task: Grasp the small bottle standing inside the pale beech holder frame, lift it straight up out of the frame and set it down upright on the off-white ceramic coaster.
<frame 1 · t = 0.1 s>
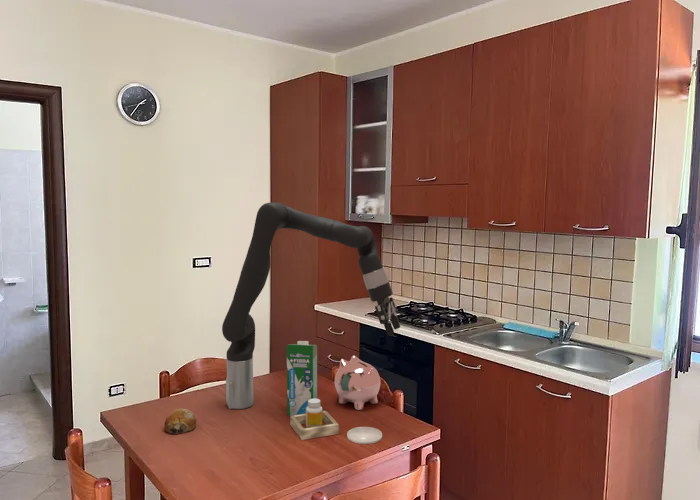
hand: (394, 331, 180), 31 cm above the table, tool tilted 20°, fingers open, 8 cm apart
holder: (314, 429, 179), on the table
piggy bank: (356, 402, 203), on the table
bread roll: (180, 429, 180), on the table
milk carton: (302, 411, 194), on the table
supplement bottle: (314, 429, 179), resting in holder
coaster: (364, 436, 174), on the table
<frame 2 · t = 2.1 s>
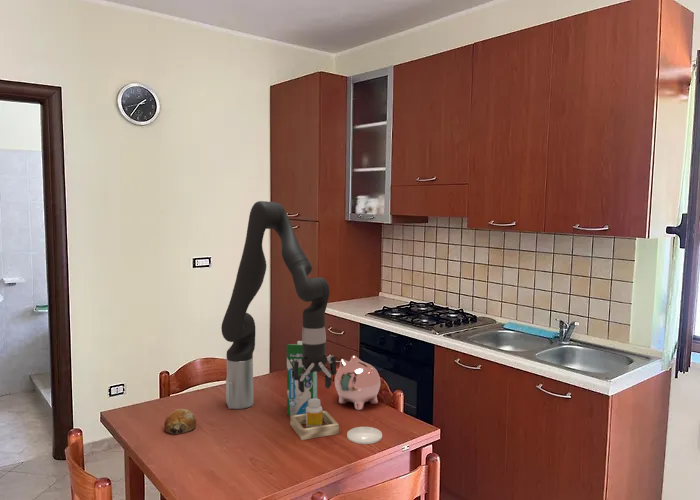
hand: (314, 389, 178), 13 cm above the table, tool pointing down, fingers open, 8 cm apart
nothing on the table moved.
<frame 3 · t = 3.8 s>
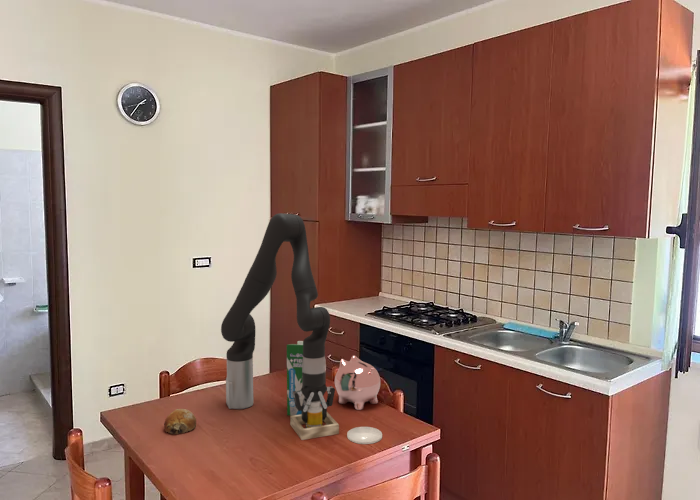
hand: (314, 420, 179), 3 cm above the table, tool pointing down, fingers closed on supplement bottle, 5 cm apart
supplement bottle: (314, 429, 179), resting in holder, touching gripper
everything else where it was.
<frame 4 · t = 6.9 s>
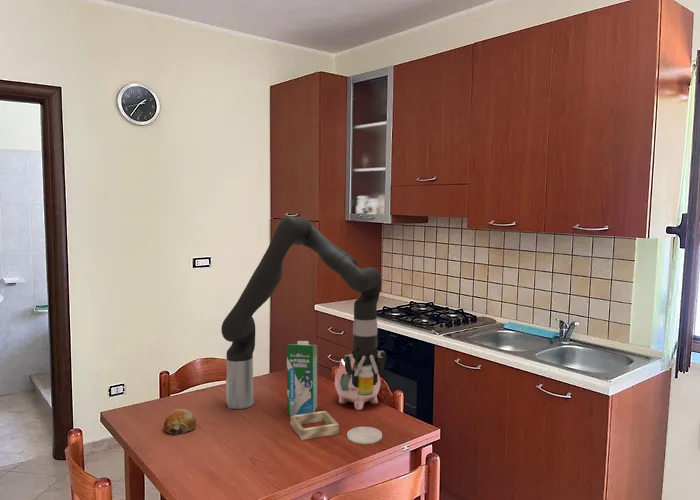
hand: (364, 385, 173), 16 cm above the table, tool pointing down, fingers closed on supplement bottle, 5 cm apart
supplement bottle: (364, 395, 173), point 13 cm above the table, touching gripper
everything else where it was.
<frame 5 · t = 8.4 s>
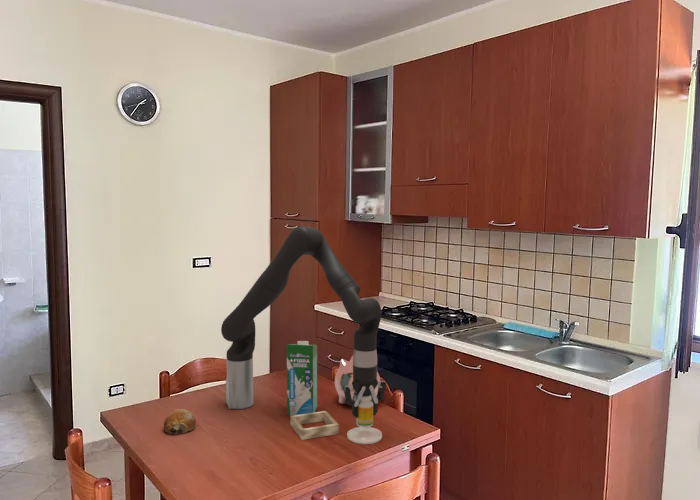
hand: (364, 415, 174), 7 cm above the table, tool pointing down, fingers closed on supplement bottle, 5 cm apart
supplement bottle: (364, 425, 174), point 4 cm above the table, touching gripper
everything else where it was.
when the fingers open (5 cm above the table, at t = 9.8 s): supplement bottle stays where it is, resting on coaster.
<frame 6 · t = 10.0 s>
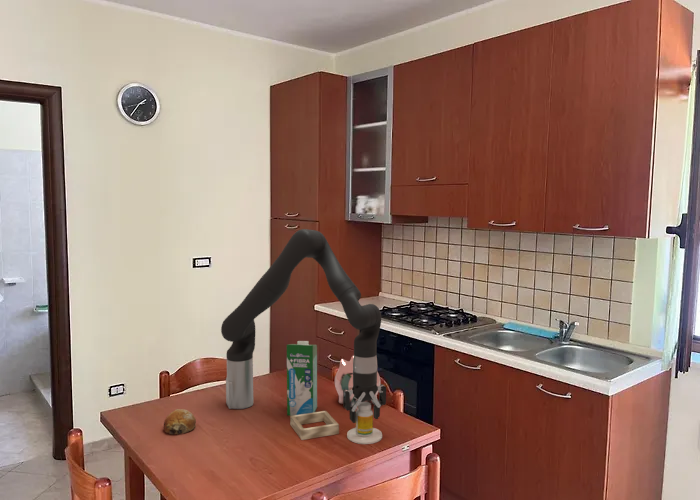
hand: (364, 420, 174), 5 cm above the table, tool pointing down, fingers open, 7 cm apart
supplement bottle: (364, 434, 174), point 1 cm above the table, touching coaster
everything else where it was.
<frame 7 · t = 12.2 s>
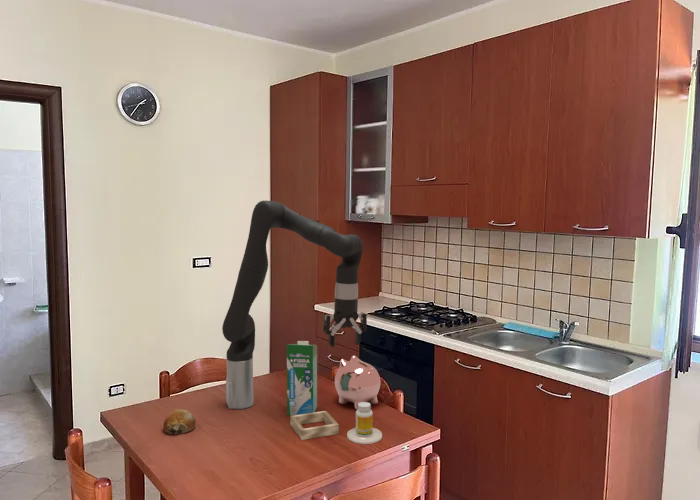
hand: (344, 345, 181), 27 cm above the table, tool pointing down, fingers open, 8 cm apart
nothing on the table moved.
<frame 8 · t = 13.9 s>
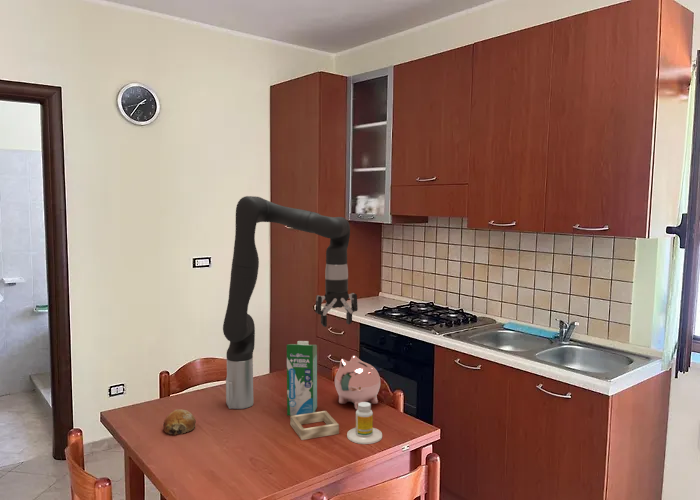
hand: (336, 325, 186), 32 cm above the table, tool pointing down, fingers open, 8 cm apart
nothing on the table moved.
at the end: supplement bottle 0.1 cm from the coaster (horizontally); supplement bottle tilted 1°; supplement bottle point 0.6 cm above the table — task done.
